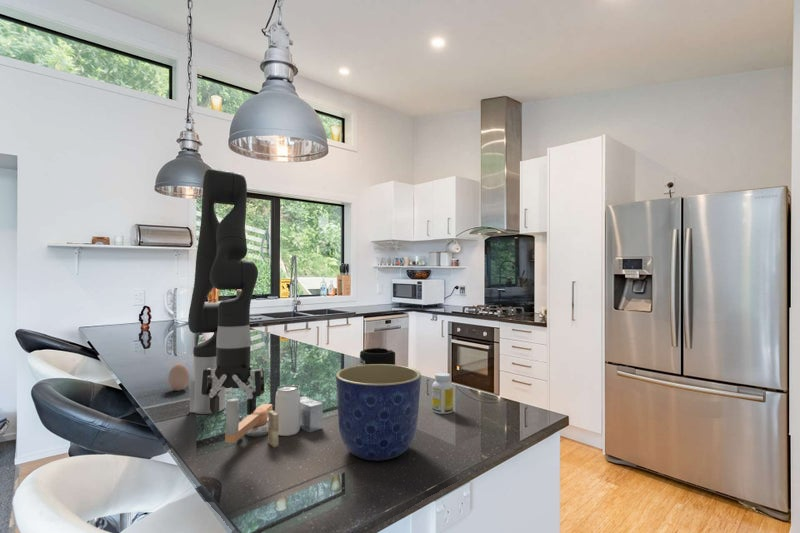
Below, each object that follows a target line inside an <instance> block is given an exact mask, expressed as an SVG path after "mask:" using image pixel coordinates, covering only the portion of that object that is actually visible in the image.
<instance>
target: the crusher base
mask: <svg viewBox="0 0 800 533" xmlns="http://www.w3.org/2000/svg"><path fill="white" fill-rule="evenodd" d="M323 407H324V406H323V403H322V402H321V401H318V400H315V399H312V398H310V397H307V396H300V429H302V430H305V431H306V432H309V433H313V432H316V431H320V430H322V429H323V416H324V415H323V412H324V411H323V409H324V408H323ZM243 419H244V416H242V415H239V423H240V422H241V421H242V420H243ZM245 435H246V436H248V437H261V436H266V435H268V422H267V423H266V424H264V425H260V426H254V427H253V428H251V429H250V430H249V431H248V432H247V433H246V434H245ZM243 438H244V435H243V436H242V437H241V438H240V439H239V440H238V441H237V442H242V441H243Z"/></svg>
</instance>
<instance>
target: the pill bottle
mask: <svg viewBox="0 0 800 533" xmlns="http://www.w3.org/2000/svg"><path fill="white" fill-rule="evenodd" d="M434 374H435V375H434V378H435V381H434V382H432V384H431V385H432V386H431V387H432V389H431V393H432V394H431V395H432V396H431V400H432V402H431V403H432V404H431V406H432V407H431V409H432V411H433V412H434V413H436V414H439V415H448V414H451V413H453V411H454V384H453V383H452V381H450V380H451V374H450V373H447V372H436V373H434Z"/></svg>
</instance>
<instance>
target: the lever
mask: <svg viewBox="0 0 800 533" xmlns="http://www.w3.org/2000/svg"><path fill="white" fill-rule="evenodd" d="M239 408H240V400H239V398H230V399H227V400H225V434H224V435H225V436H224V443H227V444H228V443H230V444H235V443H236V442H239V441H238V440H239V439H240V438H241V437H242V436H243V437H244V436H245V435H246V433H247V432H248V431H249V430H250V429H251V428H253V427H254V426H260V425H264V424H266V423H267V422H268V411H272V410H273V404H272V403H262V404H260V405H259V406H258V407H256V410H255V411H254V412H253V413H252V414H251V415H247V416H246V417H245V418H243V420H242V421H241V422H240V423H239V416H240V413H239V412H240V409H239Z"/></svg>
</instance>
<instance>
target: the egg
mask: <svg viewBox="0 0 800 533" xmlns="http://www.w3.org/2000/svg"><path fill="white" fill-rule="evenodd" d="M167 379H168V380H167V381H168V385H169V387H170V388H171V389H172V390H174V391H176V392H178V391H182V390H184V389H185V388H186V387H187V386H188V384H189V383H190V372H189V369H188V368H187V366H186V365H185V364H183V363H180V362H179V363H178V362H177V363H176V364H175V365H173V366H172V367H171V369H170V371H169V373H168V378H167Z"/></svg>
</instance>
